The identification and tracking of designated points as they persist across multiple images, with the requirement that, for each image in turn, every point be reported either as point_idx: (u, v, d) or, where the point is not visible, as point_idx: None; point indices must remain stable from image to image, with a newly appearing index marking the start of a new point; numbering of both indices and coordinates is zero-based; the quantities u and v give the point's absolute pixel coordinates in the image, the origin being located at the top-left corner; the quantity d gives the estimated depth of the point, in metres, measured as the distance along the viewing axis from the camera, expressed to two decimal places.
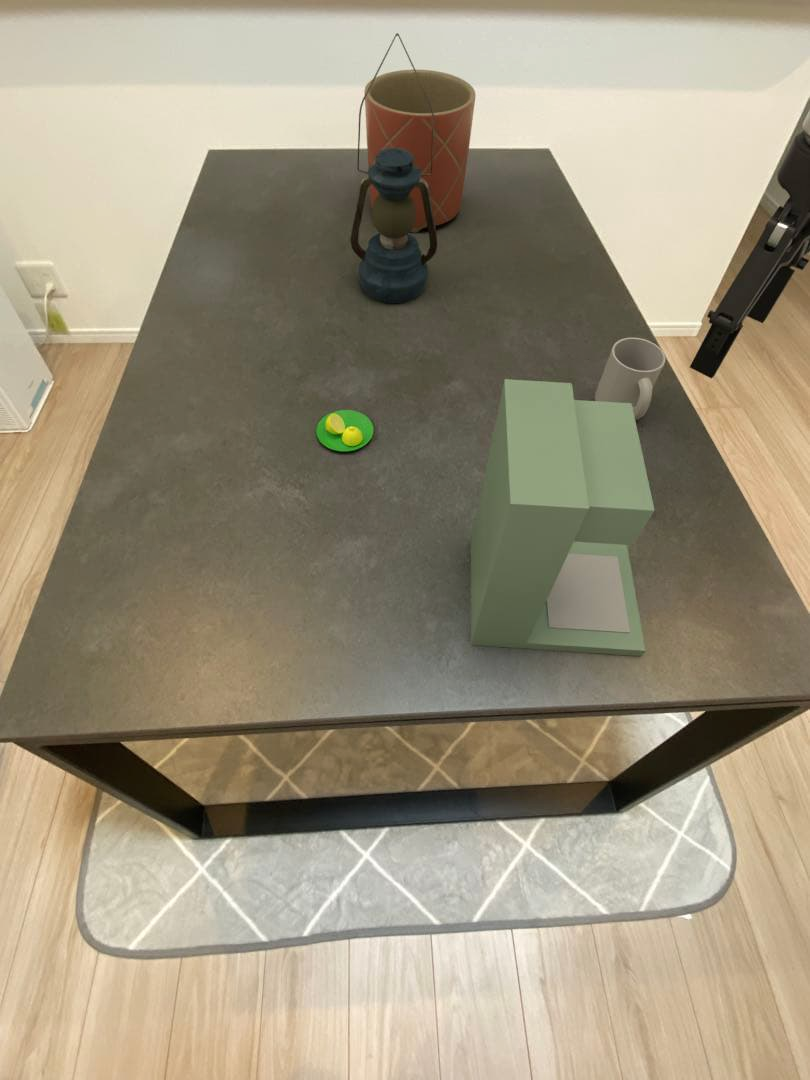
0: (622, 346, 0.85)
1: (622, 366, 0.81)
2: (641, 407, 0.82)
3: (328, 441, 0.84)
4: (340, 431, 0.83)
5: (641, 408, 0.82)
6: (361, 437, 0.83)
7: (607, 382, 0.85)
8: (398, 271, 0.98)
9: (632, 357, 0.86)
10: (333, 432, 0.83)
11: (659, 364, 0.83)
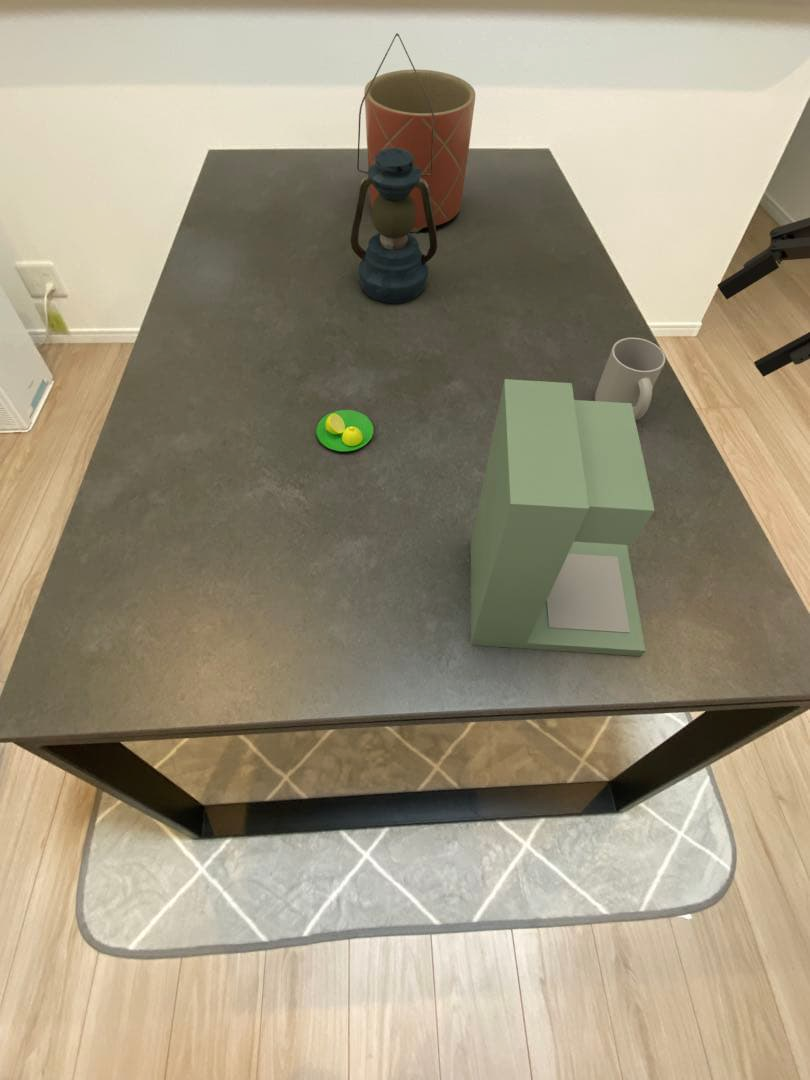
0: (622, 346, 0.85)
1: (622, 366, 0.81)
2: (641, 407, 0.82)
3: (328, 441, 0.84)
4: (340, 431, 0.83)
5: (641, 408, 0.82)
6: (361, 437, 0.83)
7: (607, 382, 0.85)
8: (398, 271, 0.98)
9: (632, 357, 0.86)
10: (333, 432, 0.83)
11: (659, 364, 0.83)
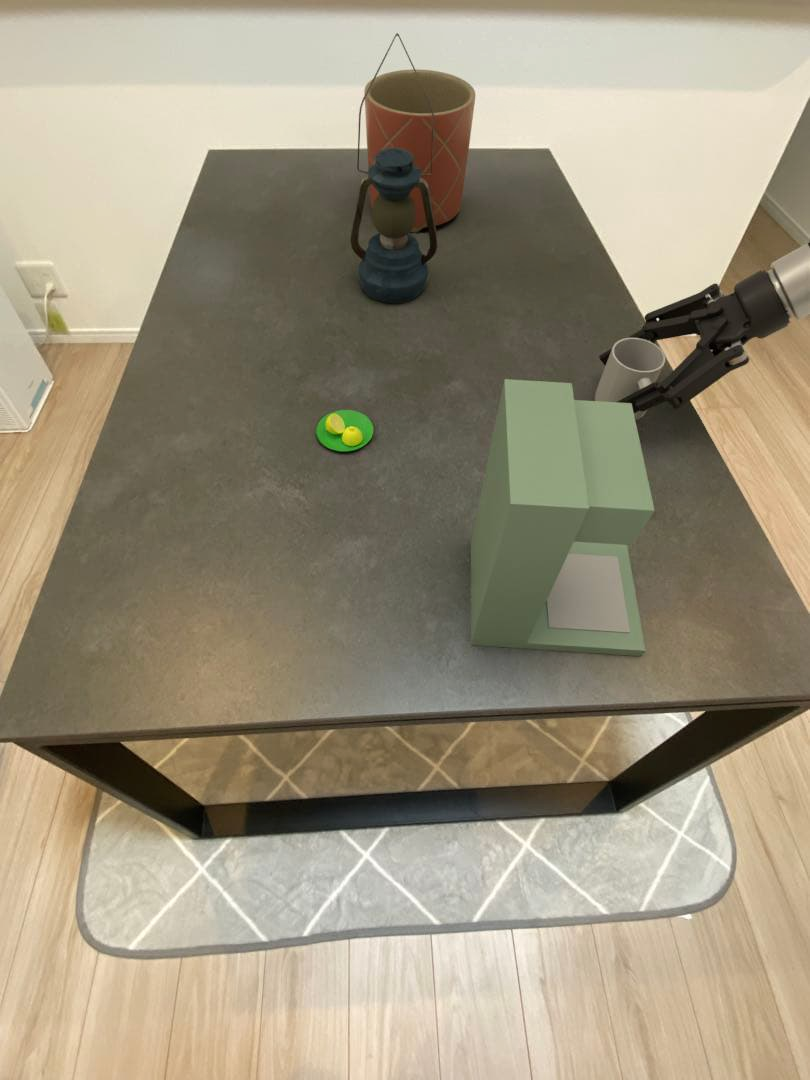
0: (622, 346, 0.85)
1: (622, 366, 0.81)
2: None
3: (328, 441, 0.84)
4: (340, 431, 0.83)
5: None
6: (361, 437, 0.83)
7: (607, 382, 0.84)
8: (398, 271, 0.98)
9: (631, 357, 0.86)
10: (333, 432, 0.83)
11: (659, 364, 0.83)
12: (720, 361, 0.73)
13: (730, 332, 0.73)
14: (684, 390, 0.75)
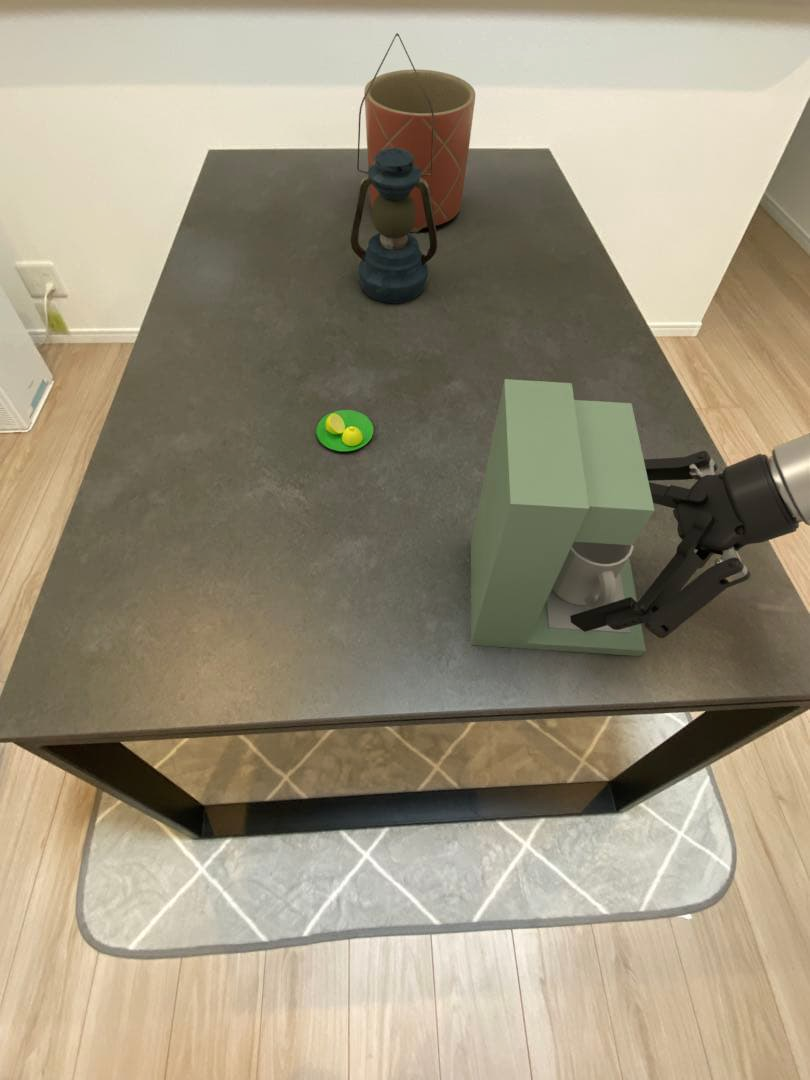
0: None
1: (577, 556, 0.61)
2: None
3: (328, 441, 0.84)
4: (340, 431, 0.83)
5: None
6: (361, 437, 0.83)
7: None
8: (398, 271, 0.98)
9: None
10: (333, 432, 0.83)
11: (626, 547, 0.64)
12: (714, 579, 0.52)
13: (717, 536, 0.54)
14: (670, 618, 0.54)
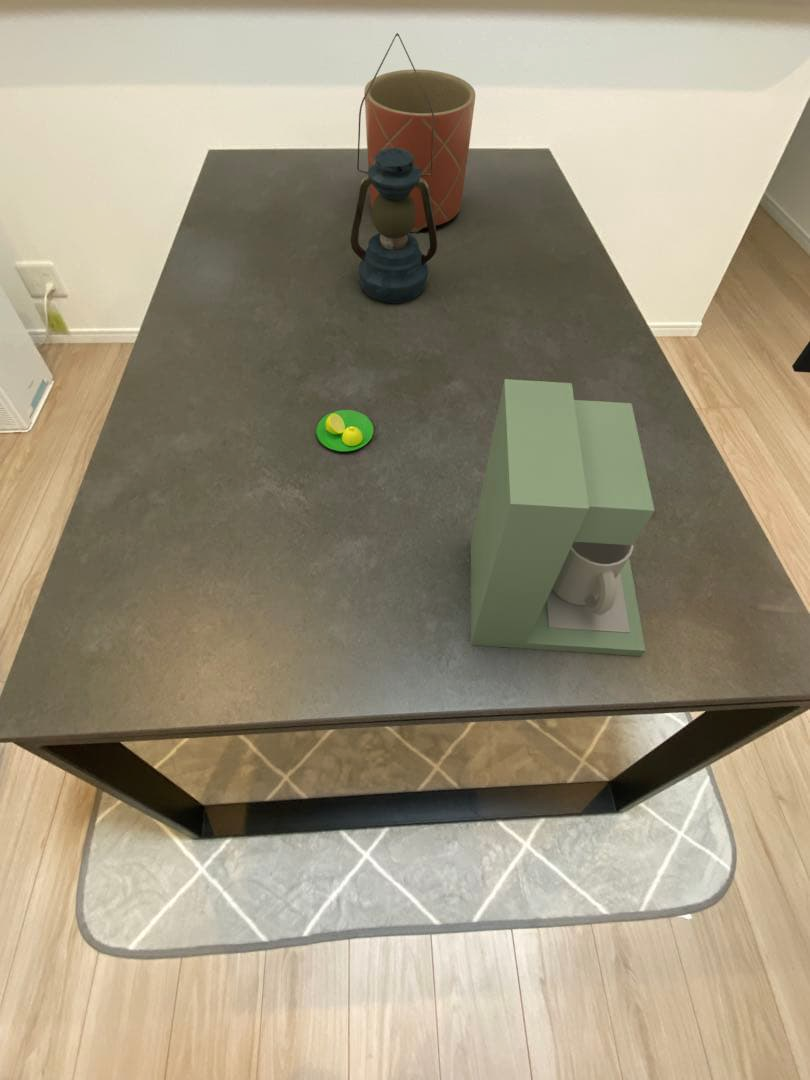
0: None
1: (577, 556, 0.61)
2: (602, 606, 0.63)
3: (328, 442, 0.84)
4: (340, 431, 0.83)
5: (603, 607, 0.63)
6: (361, 437, 0.83)
7: None
8: (398, 271, 0.98)
9: None
10: (333, 432, 0.83)
11: (626, 547, 0.64)
12: None
13: None
14: None
